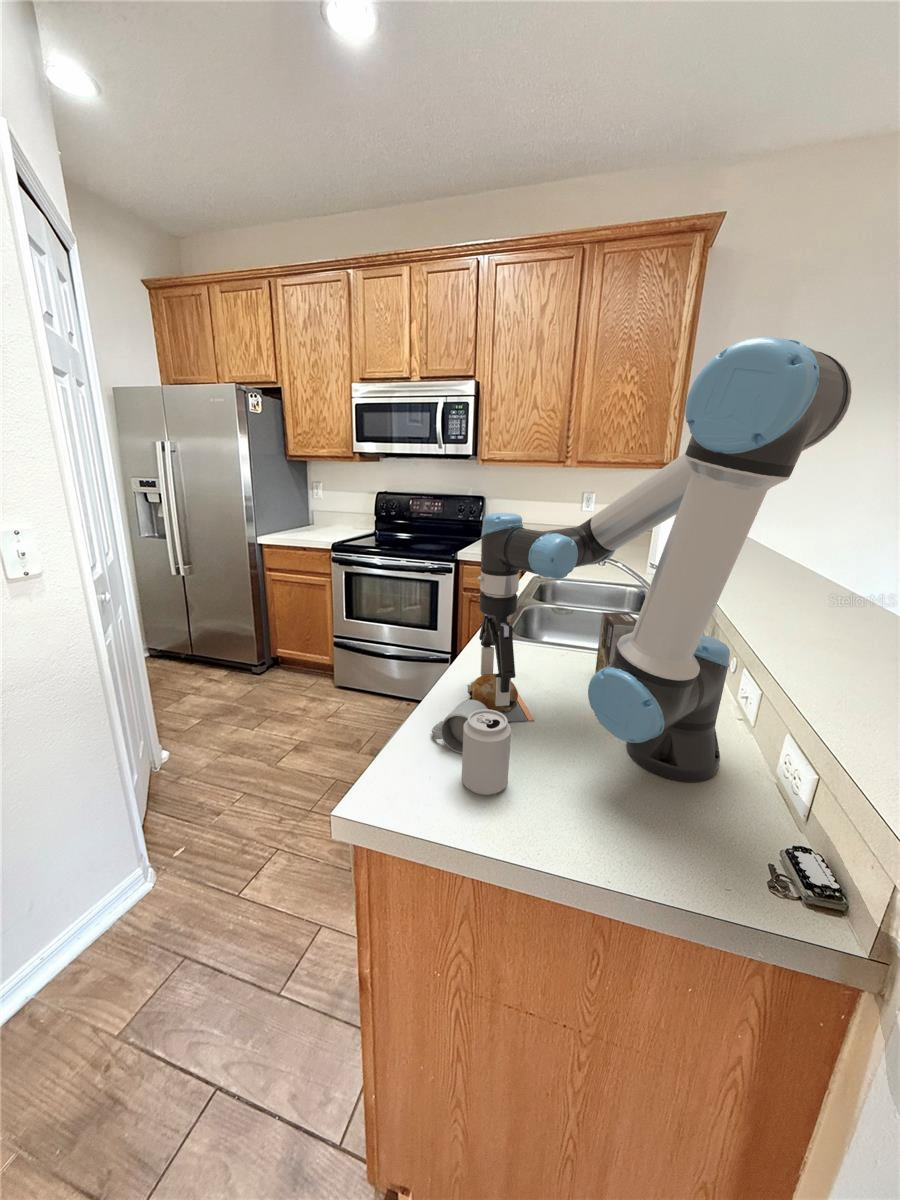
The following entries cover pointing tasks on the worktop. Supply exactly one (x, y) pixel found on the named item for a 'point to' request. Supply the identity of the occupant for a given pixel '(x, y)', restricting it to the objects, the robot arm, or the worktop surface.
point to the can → (486, 752)
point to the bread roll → (490, 693)
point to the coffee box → (612, 635)
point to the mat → (517, 712)
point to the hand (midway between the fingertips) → (494, 688)
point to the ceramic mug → (456, 724)
